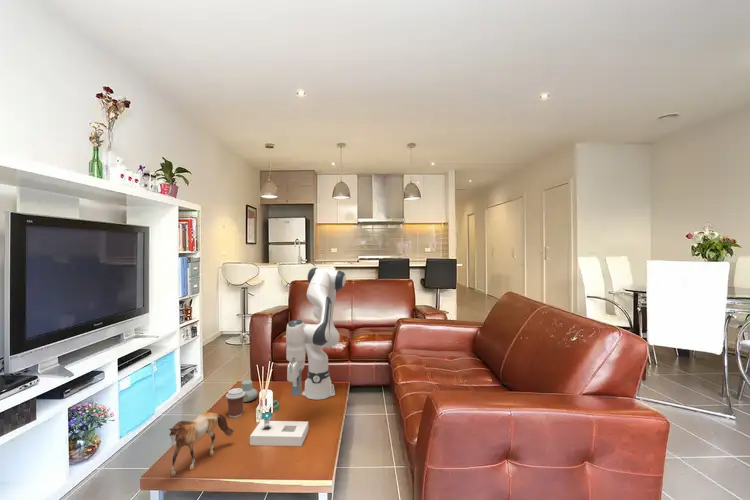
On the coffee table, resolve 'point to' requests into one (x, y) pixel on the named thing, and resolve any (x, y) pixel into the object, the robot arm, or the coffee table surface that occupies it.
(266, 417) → the lock pin
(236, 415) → the coffee cup
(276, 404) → the decorative artifact
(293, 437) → the socket block
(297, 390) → the peg
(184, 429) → the horse figurine
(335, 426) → the coffee table surface
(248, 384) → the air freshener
